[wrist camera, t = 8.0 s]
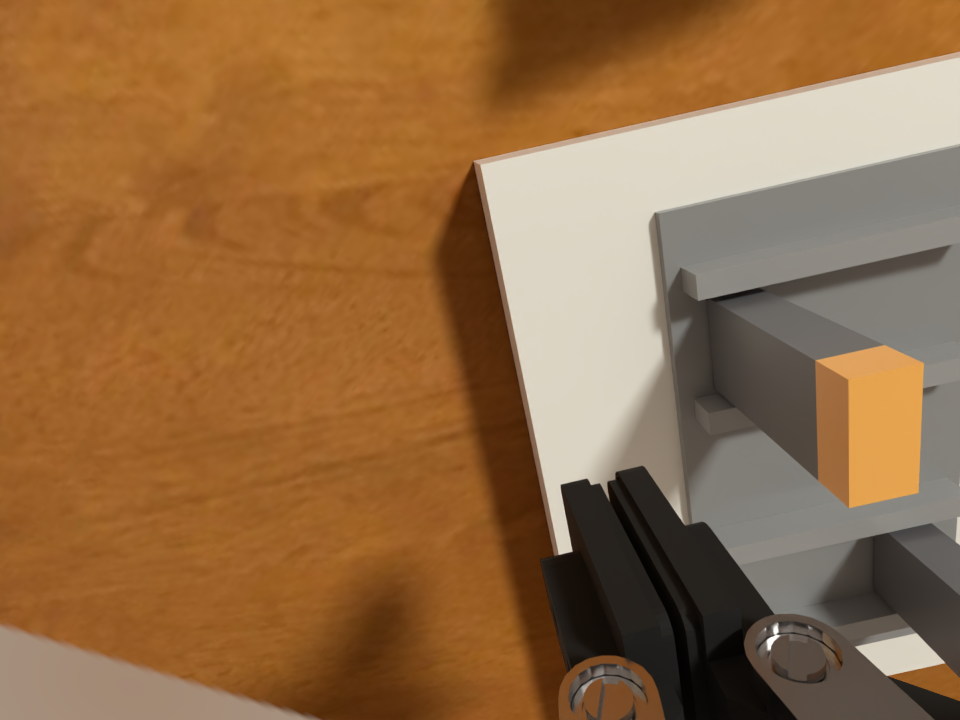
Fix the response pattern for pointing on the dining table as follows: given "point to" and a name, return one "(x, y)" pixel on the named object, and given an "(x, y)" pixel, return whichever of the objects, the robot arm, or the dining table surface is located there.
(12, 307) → the dining table surface
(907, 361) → the toggle
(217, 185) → the dining table surface
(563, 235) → the lever base
